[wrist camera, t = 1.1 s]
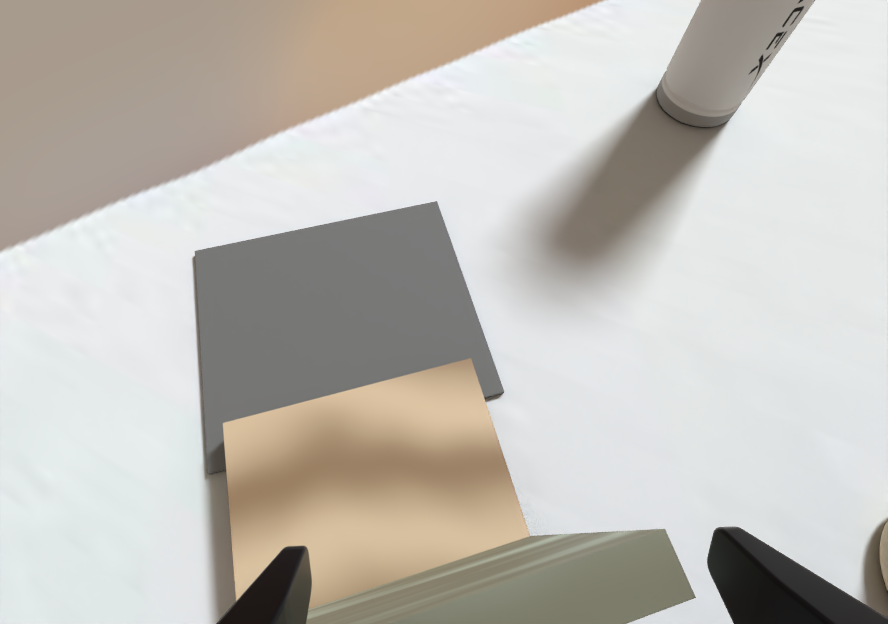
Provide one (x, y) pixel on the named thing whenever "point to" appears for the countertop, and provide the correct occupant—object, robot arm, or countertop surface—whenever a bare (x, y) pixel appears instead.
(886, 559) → the stacking toy
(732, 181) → the countertop surface
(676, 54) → the travel mug
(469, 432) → the wooden bookend
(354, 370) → the mat
